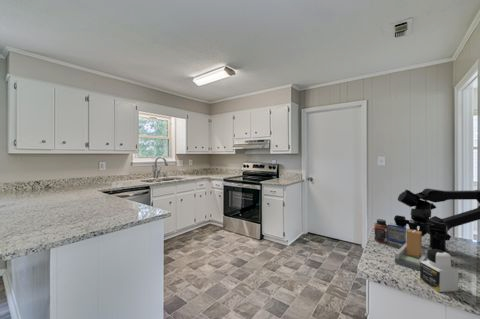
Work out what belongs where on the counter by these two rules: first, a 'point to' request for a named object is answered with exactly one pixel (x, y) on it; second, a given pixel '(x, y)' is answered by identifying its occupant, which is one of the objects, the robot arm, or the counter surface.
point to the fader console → (410, 258)
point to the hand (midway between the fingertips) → (416, 240)
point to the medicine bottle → (439, 271)
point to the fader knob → (414, 243)
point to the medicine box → (396, 233)
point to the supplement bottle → (381, 231)
